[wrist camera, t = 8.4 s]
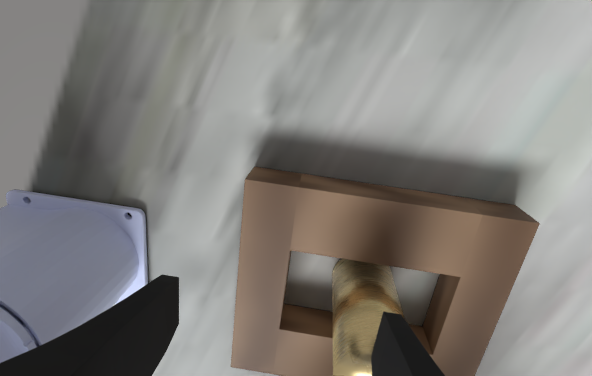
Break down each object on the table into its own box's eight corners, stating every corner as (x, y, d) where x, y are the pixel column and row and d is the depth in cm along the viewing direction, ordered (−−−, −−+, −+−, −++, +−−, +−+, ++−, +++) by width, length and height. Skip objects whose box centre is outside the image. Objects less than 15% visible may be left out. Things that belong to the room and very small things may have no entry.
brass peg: (330, 298, 24) (330, 406, 16) (334, 249, 22) (335, 342, 15) (387, 303, 23) (414, 415, 16) (395, 253, 22) (428, 351, 15)
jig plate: (239, 339, 26) (230, 366, 23) (254, 166, 21) (244, 179, 19) (448, 374, 25) (461, 406, 23) (515, 205, 20) (539, 223, 18)
